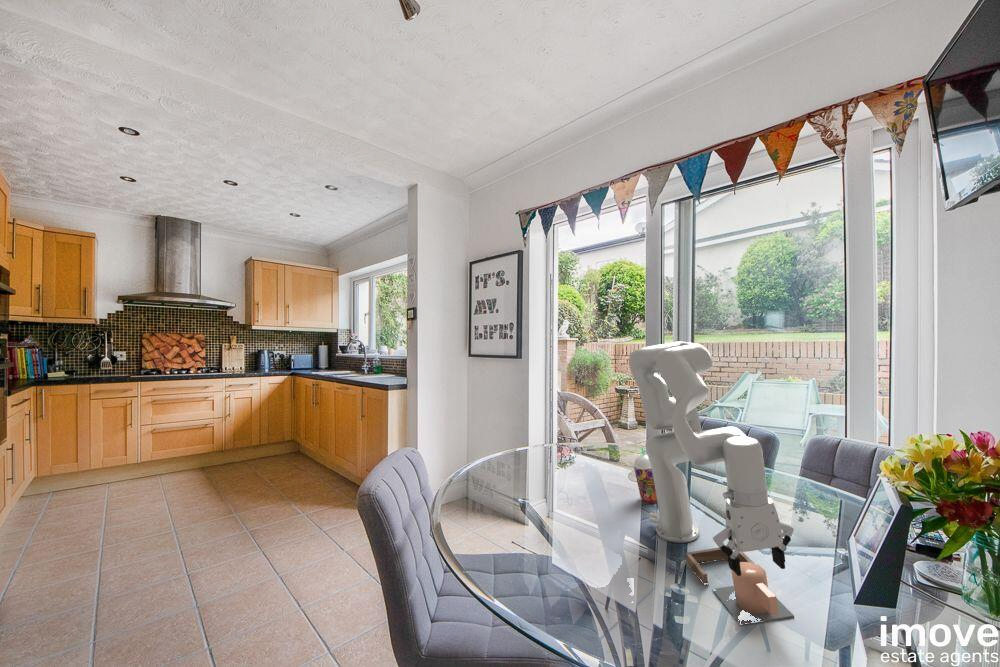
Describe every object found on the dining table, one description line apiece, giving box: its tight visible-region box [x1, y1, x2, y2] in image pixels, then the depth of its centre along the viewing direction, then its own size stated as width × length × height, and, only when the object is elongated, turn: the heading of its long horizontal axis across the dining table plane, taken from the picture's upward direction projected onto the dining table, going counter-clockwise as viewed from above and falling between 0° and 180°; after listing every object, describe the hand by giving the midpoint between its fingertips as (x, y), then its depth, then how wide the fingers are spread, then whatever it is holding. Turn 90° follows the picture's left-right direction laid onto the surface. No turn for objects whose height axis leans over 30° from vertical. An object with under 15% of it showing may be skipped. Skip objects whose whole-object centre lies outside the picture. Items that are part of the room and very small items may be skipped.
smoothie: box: [632, 447, 657, 504], centre depth 155 cm, size 8×8×20 cm
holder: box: [685, 546, 756, 584], centre depth 110 cm, size 10×14×3 cm
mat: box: [713, 585, 795, 624], centre depth 97 cm, size 12×12×1 cm
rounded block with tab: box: [730, 562, 779, 616], centre depth 94 cm, size 12×7×8 cm, turn 0°
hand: (757, 568), depth 92 cm, fingers open, 9 cm apart
